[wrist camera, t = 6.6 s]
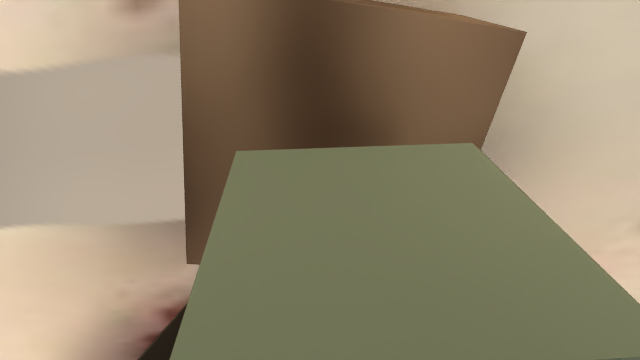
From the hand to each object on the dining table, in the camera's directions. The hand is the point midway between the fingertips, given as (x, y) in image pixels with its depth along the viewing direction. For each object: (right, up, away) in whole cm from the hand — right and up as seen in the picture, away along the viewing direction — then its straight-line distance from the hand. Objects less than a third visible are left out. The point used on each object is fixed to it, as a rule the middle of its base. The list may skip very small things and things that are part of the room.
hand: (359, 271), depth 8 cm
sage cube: (0, +1, +1) cm, 1 cm away
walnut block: (-1, +5, +9) cm, 10 cm away
